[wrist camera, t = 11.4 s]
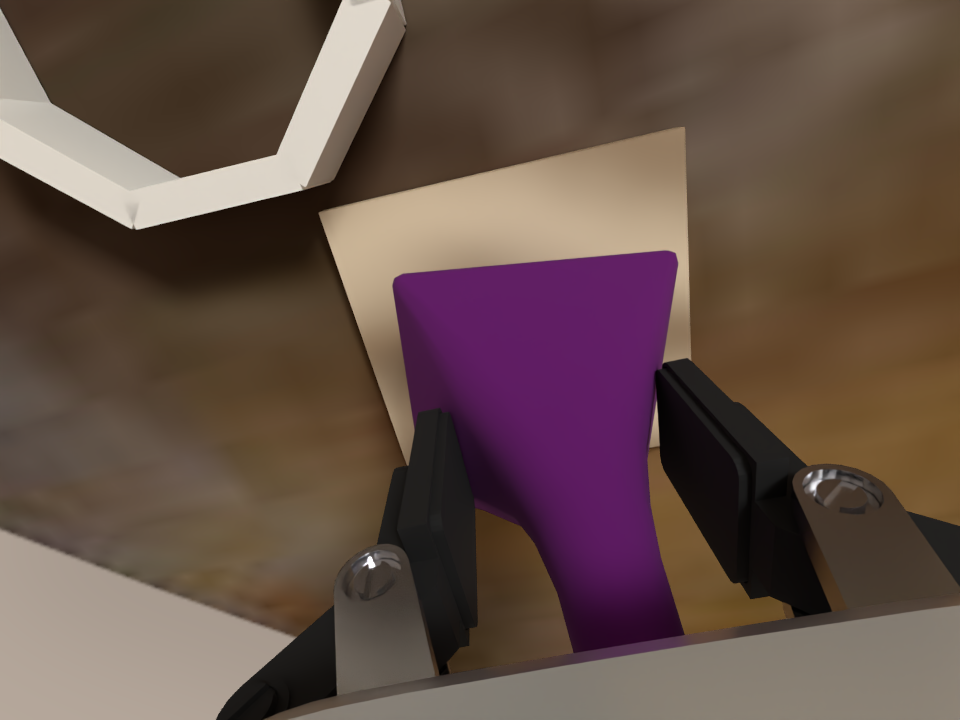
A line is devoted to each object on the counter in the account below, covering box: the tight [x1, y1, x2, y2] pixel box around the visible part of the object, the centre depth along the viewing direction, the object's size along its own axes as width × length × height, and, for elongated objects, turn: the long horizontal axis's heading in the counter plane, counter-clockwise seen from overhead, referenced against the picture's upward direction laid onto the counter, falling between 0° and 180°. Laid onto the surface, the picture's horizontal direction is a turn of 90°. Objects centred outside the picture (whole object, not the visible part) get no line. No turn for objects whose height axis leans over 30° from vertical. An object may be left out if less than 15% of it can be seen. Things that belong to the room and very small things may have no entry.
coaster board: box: [319, 127, 691, 466], centre depth 18 cm, size 12×12×1 cm
